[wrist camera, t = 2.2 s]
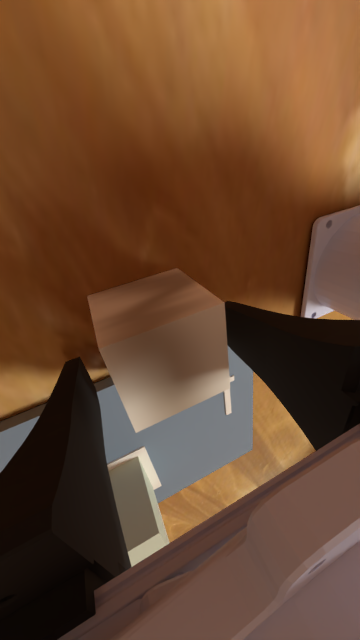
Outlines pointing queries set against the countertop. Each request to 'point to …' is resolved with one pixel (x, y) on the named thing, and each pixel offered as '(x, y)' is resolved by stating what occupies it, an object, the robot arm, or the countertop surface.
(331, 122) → the countertop surface
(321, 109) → the countertop surface
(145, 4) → the countertop surface
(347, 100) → the countertop surface
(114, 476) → the sage block
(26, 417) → the board
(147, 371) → the cream block
